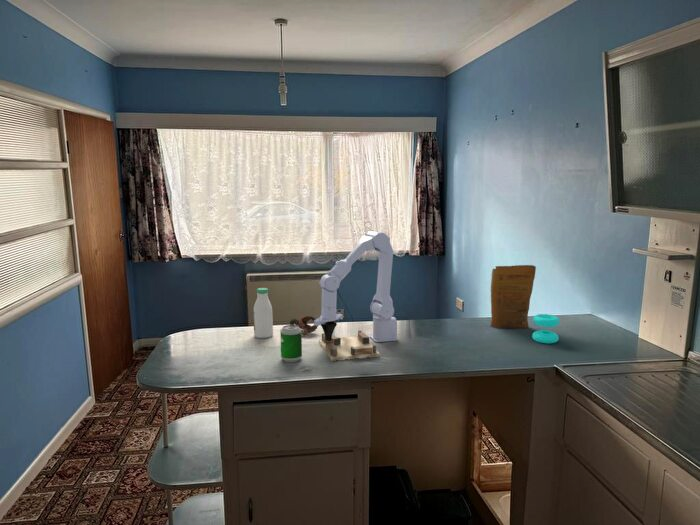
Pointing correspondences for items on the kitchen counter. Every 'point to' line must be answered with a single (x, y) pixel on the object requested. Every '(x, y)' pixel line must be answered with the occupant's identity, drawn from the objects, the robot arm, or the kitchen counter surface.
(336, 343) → the folding leg
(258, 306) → the milk bottle
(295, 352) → the soda can
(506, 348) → the kitchen counter surface
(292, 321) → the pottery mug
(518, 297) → the pancake mix bag
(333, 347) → the stool seat
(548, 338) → the donuts
